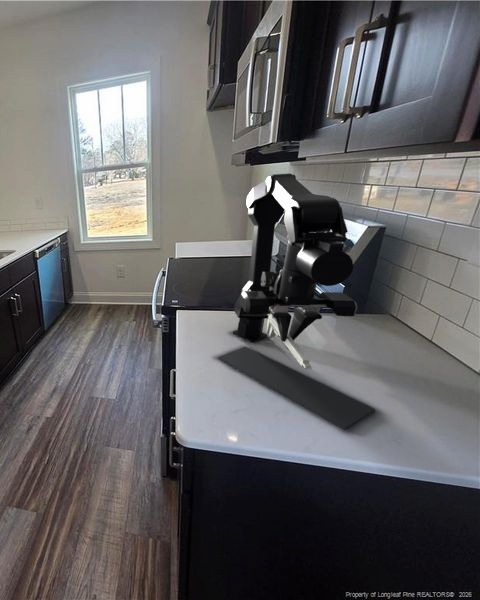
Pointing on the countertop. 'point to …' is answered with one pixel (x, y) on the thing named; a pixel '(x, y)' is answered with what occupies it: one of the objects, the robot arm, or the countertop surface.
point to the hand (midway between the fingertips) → (286, 340)
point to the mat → (299, 387)
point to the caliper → (287, 342)
